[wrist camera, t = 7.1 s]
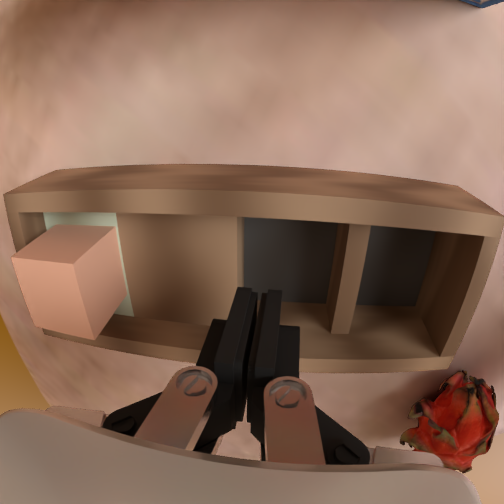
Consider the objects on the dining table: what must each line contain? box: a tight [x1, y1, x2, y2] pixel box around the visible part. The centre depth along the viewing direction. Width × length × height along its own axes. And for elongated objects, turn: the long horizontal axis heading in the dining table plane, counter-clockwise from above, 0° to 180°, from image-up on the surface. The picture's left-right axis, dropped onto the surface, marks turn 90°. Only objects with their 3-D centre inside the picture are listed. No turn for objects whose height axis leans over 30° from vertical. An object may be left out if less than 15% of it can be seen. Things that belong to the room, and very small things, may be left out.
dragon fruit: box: [400, 370, 499, 473], centre depth 20 cm, size 8×8×12 cm
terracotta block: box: [11, 224, 127, 340], centre depth 14 cm, size 4×4×4 cm
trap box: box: [3, 164, 504, 373], centre depth 16 cm, size 24×9×5 cm, turn 89°
